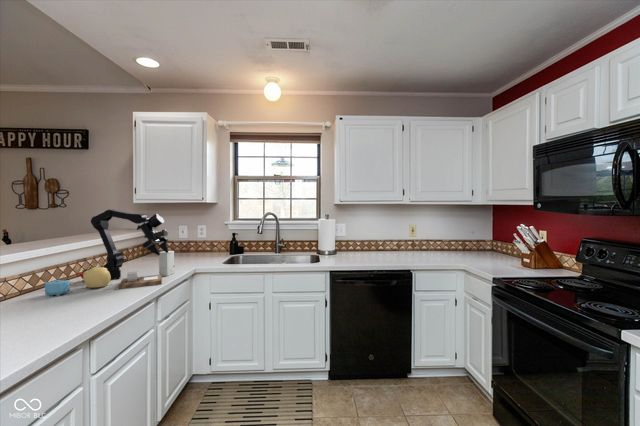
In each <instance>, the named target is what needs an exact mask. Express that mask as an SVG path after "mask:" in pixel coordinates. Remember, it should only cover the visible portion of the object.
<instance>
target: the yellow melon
mask: <svg viewBox="0 0 640 426" xmlns="http://www.w3.org/2000/svg"><path fill="white" fill-rule="evenodd" d="M83 278H84V279H82V280H84V282H83V283H84V284H85V286H86V287H88V288H92V289H93V288H94V289H95V288H104V287H105V286H108V285H109V284H110V282H111V280H110V279H111V276H110V273H109V271H108V270H107V268H104V267H103V266H102V267H101V266H95V267H94V268H92V269H90V270H88V271H85V272H84V273H83Z"/></svg>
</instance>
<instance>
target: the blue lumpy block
mask: <svg viewBox="0 0 640 426" xmlns="http://www.w3.org/2000/svg"><path fill="white" fill-rule="evenodd" d="M43 284H44V295H45V296H49V297H52V296H56V297H60V296H61V295H66V294H67V293H69V292H70V291H71V290H70V289H71V287H70V280H60V279H55V280H53V281H50V282H47V281H43Z"/></svg>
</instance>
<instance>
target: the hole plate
mask: <svg viewBox="0 0 640 426" xmlns="http://www.w3.org/2000/svg"><path fill="white" fill-rule="evenodd" d="M137 279H138V281H135V282H127V278H122V279H121V281H120V283H119V285H118V288H119V290H120V289H130V288H139V287H146V286H157V285H158V286H159V285H162V284H163V283H162V280H163V276H162V275H159V274H158V275H147V276H137Z"/></svg>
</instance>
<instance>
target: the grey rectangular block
mask: <svg viewBox="0 0 640 426" xmlns="http://www.w3.org/2000/svg"><path fill="white" fill-rule="evenodd" d="M126 276H127V282H135V281H138V279H137V277H138V271H129V272H127V275H126Z"/></svg>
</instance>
